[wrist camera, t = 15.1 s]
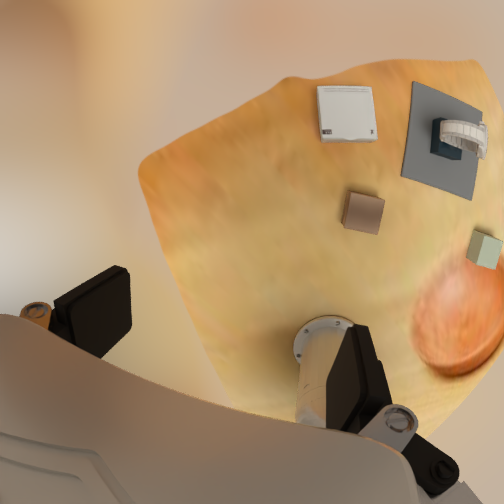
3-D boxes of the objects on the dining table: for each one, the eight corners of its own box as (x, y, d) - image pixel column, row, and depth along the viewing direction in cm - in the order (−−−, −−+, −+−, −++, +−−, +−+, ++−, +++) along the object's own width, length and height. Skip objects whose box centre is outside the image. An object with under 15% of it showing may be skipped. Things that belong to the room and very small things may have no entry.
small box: (366, 95, 35) (373, 86, 30) (370, 144, 37) (378, 140, 32) (315, 94, 36) (316, 84, 32) (320, 143, 39) (321, 140, 34)
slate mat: (469, 200, 35) (471, 200, 35) (400, 176, 37) (401, 176, 37) (480, 112, 30) (482, 111, 30) (412, 82, 32) (413, 80, 32)
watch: (461, 163, 33) (499, 165, 23) (420, 150, 35) (453, 146, 24) (463, 130, 32) (501, 124, 21) (423, 116, 33) (454, 102, 23)
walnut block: (371, 229, 41) (377, 234, 37) (341, 222, 41) (344, 227, 38) (378, 197, 39) (385, 200, 35) (347, 190, 40) (351, 192, 36)
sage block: (484, 262, 37) (495, 269, 34) (465, 257, 38) (476, 264, 34) (491, 235, 36) (503, 241, 32) (473, 229, 36) (484, 235, 33)
